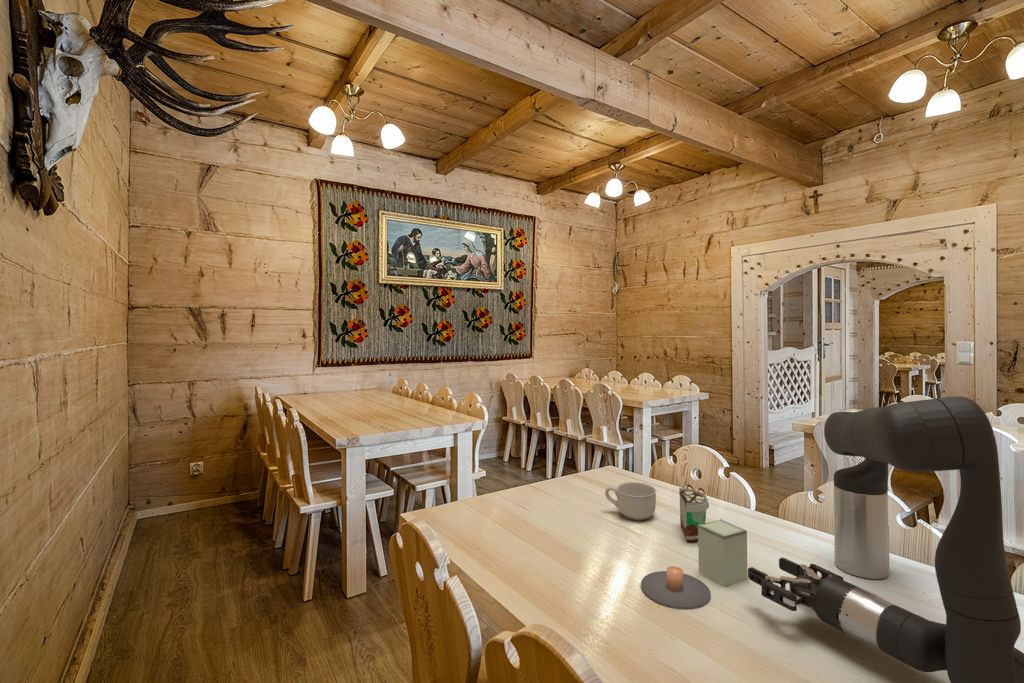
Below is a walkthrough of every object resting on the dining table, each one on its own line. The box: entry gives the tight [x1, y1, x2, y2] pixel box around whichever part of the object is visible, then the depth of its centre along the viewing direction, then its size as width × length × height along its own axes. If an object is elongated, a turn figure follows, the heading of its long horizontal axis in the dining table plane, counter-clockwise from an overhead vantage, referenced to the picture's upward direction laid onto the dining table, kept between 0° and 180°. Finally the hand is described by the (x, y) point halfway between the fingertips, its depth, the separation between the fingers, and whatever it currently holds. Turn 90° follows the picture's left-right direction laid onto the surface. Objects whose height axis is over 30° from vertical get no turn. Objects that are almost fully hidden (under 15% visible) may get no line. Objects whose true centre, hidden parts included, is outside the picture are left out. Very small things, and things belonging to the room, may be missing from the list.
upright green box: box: [697, 519, 749, 587], centre depth 98 cm, size 7×7×10 cm
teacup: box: [604, 481, 657, 521], centre depth 132 cm, size 14×11×8 cm
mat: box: [640, 570, 712, 610], centre depth 93 cm, size 13×13×1 cm
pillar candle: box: [666, 565, 684, 592], centre depth 93 cm, size 3×3×4 cm
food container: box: [678, 487, 710, 544], centre depth 118 cm, size 12×6×10 cm, turn 168°
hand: (764, 567), depth 89 cm, fingers open, 8 cm apart
